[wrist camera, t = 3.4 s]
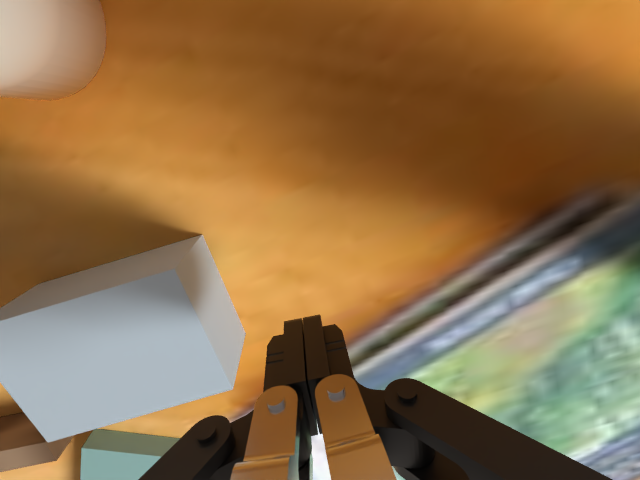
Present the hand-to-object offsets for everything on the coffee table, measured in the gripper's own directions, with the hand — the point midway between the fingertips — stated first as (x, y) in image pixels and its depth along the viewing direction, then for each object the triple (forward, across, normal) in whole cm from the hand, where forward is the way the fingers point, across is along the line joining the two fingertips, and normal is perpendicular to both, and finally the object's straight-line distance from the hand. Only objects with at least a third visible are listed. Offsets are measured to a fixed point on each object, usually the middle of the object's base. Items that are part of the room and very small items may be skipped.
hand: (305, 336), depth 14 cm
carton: (+7, +10, +1) cm, 12 cm away
